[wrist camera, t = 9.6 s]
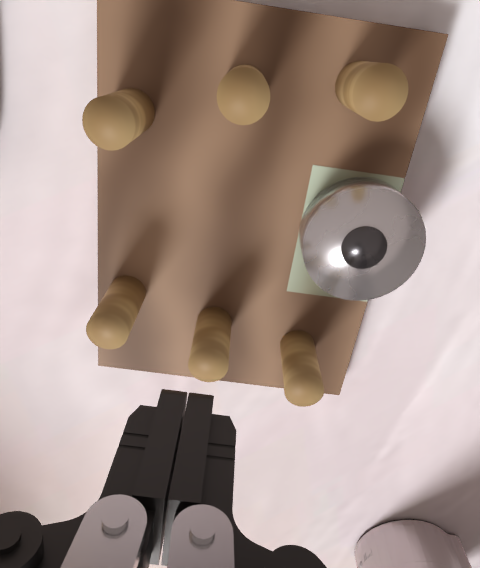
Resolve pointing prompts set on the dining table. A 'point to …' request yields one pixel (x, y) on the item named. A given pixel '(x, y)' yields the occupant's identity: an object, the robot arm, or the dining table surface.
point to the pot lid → (361, 238)
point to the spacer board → (238, 180)
